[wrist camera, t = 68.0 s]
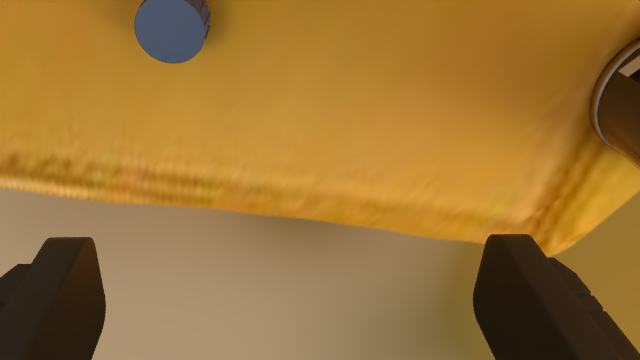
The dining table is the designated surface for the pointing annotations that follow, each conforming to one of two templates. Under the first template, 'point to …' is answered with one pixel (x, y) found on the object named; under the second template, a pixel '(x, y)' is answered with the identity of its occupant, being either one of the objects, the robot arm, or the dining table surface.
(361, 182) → the dining table surface
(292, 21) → the dining table surface
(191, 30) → the cap
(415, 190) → the dining table surface
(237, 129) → the dining table surface
